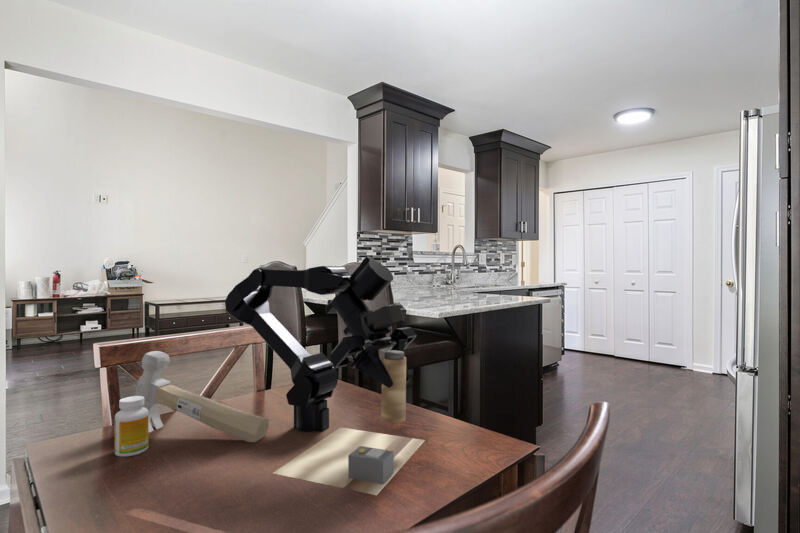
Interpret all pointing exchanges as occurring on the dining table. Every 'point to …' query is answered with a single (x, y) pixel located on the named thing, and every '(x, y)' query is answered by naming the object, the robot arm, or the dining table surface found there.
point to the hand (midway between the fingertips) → (399, 383)
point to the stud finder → (370, 464)
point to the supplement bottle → (131, 427)
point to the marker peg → (394, 388)
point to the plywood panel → (332, 453)
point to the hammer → (192, 403)
